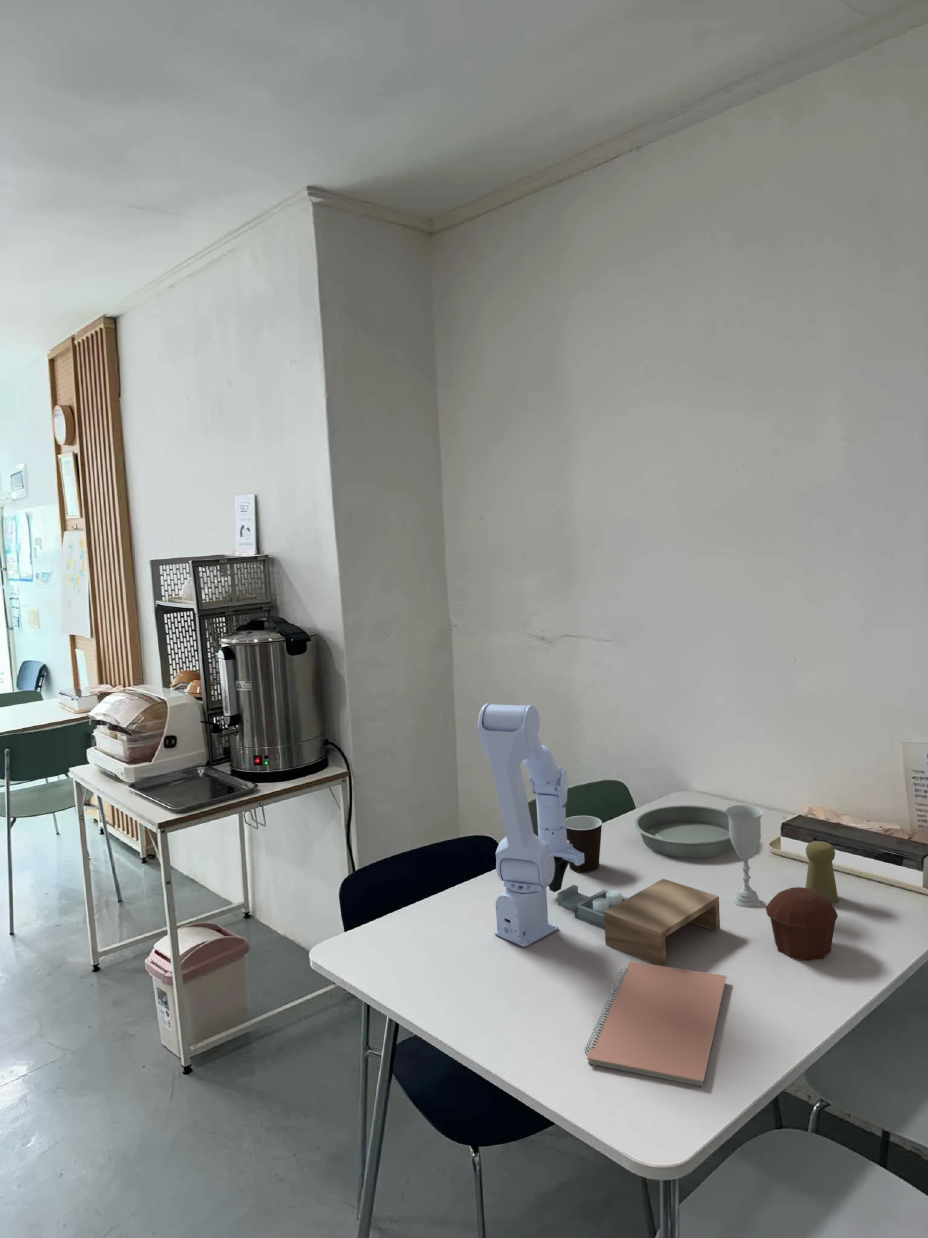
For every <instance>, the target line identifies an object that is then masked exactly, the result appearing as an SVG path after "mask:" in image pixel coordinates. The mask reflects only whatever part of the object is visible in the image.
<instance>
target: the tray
mask: <svg viewBox="0 0 928 1238" xmlns="http://www.w3.org/2000/svg"><path fill="white" fill-rule="evenodd" d="M627 898H628V897H627V896H623V894H622V893H621V892H620V891H617V890H611V891H609V890H607V889H602V890H601V891H598V892H597V893H595V894H593V895H591V896H588V895H586V894H583V893H581V892H579V886H578V885H576V884H572V885H570V886H568V887H567V888H565V889H563V890H560V891H558V892H557V905H558V906H561V907H563V908H566V909H569V910H572V911H574V918H576V919H578V920H581V921H584V922H586V923H588V924H591V925H594V926H596V927H598V928H602V929H603V930H605V922H604V911H606V910H608V909H610V908H611V907H613V906H615V905H617V904H619V903H620V902H622V901H624V900H626V899H627Z"/></svg>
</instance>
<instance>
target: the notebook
mask: <svg viewBox="0 0 928 1238" xmlns="http://www.w3.org/2000/svg"><path fill="white" fill-rule="evenodd" d="M726 979H727V975H725V974H718V973H712V972H706V971H705V972H704V971H697V970H692V969H691V970H690V969H684V968H678V967H670V966H658V965H654V964H652V963H650V964H648V963H644V962H638V961H630V960H629V961H628V963H627V966H626V967H625V966H623V967H621V968H620V969H619V971H618V974H617V976H616V978H615V981H614V982H613V984H612V987H611V989H610V992H609V994H608V996H607V998H606V1001H605V1003H604V1005H603V1007H602V1010H601V1011H600V1014H599V1016H598V1018H597V1020H596V1023H595V1025H594V1027H593V1029H592V1032H591V1034H590V1037H589V1039H588V1041H587V1043H586V1045H585V1047H584V1053H585V1055H587V1052H588V1051H589V1053H588V1055H587V1057H586V1060H587V1064H590V1065H594V1066H595V1065H596V1066H601V1067H606V1068H609V1069H616V1070H620V1071H625V1072H630V1073H636V1074H639V1075H645V1076H650V1077H655V1078H656V1077H657V1078H661V1079H666V1080H671V1081H675V1082H680V1083H685V1084H690V1085H695V1086H701V1087H703V1084H704V1080H705V1077H706V1076H705V1075H706V1072H707V1068H708V1062H709V1058H710V1054H711V1048H712V1044H713V1040H714V1037H715V1036H714V1035H715V1030H716V1026H717V1025H716V1024H717V1021H718V1017H719V1012H720V1008H721V1003H722V998H723V995H724V994H723V993H724V990H725V984H726ZM590 1047H591V1048H590ZM588 1049H590V1050H588Z"/></svg>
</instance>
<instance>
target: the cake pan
mask: <svg viewBox="0 0 928 1238" xmlns="http://www.w3.org/2000/svg"><path fill="white" fill-rule="evenodd" d="M633 825H634V828H635V829H636V830H637V831H638V832H639V833H640V836H641V840H642V842H643V844H644V845H645V847H647V848H648V849H650V850H652V851H654V852H655V853H658V854H660V855H661V854H662V855H665V856H670V857H676V858H684V859H685V858H686V859H700V858H701V859H703V858H713V857H716V856H722V855H724V854H727V853H729V852H731V851H733V850H735V849H734V847H733V845H732V842H731V839H730V836H729V817H728V815H727V813H726V810H724V809H721V808H717V807H711V806H704V805H694V804H681V805H680V804H679V805H667V806H662V807H661V806H660V807H657V808H652V809H649V810H647V811H644V812H642V813H641V814H639V815H638V816H637V817H636V818H635V820H634V824H633ZM651 831H652V832H653V834H656V836H655V835H652V834H651V833H649V832H651Z"/></svg>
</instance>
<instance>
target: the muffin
mask: <svg viewBox="0 0 928 1238" xmlns="http://www.w3.org/2000/svg"><path fill="white" fill-rule="evenodd" d="M765 910H766V914H767V916H768V917H769V919H770V923H771V928H772V929H771V930H772V934H773V939H774V944H775V946H776V948H777V949H776V950H777V952H779V953H782V954H784V955H785V956H786V957H788V958H790V959H796V960H801V961H806V962H809V961H810V962H811V961H814V960H815V961H816V960H824V959H825V958H826V956H828V955H829V954H830V953H831V951H832V944H833V939H834V934H835V933H834V932H835V927H836V921H837V919H838V917H839V915H838V913H837V910H836V908H835V906H834V904H833V905H832V903H831V902H830V901H829V900H828V899H827V898H826V897H824V896H823V895H821V894H820V893H818V892H817V891H814V890H812V889H808V888H806V887H801V886H799V887H798V886H797V887H790V888H787V889H785V890H782V891H780V892H778V893H777V894H776V895H775V896H773V897H772V899H771V900H770V901H769V902H768V903H767V905H765Z"/></svg>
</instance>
